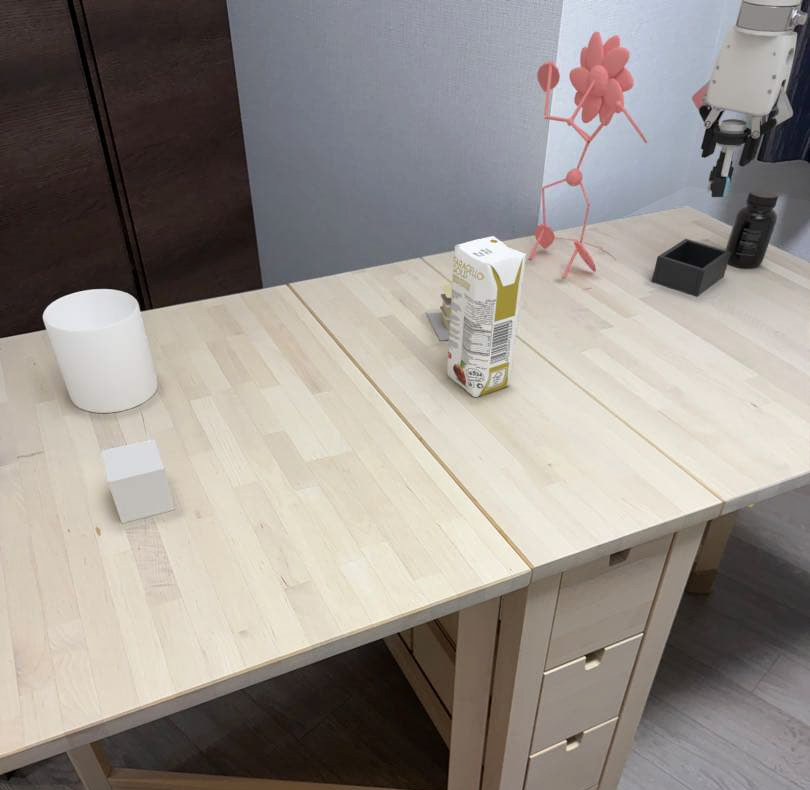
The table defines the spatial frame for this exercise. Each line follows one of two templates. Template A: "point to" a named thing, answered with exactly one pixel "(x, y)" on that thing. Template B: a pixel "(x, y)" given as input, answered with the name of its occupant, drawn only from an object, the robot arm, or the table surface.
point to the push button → (726, 154)
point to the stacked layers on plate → (443, 315)
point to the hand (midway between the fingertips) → (725, 158)
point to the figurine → (588, 113)
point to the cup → (101, 349)
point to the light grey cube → (137, 480)
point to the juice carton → (484, 314)
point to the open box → (690, 267)
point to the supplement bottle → (752, 229)
